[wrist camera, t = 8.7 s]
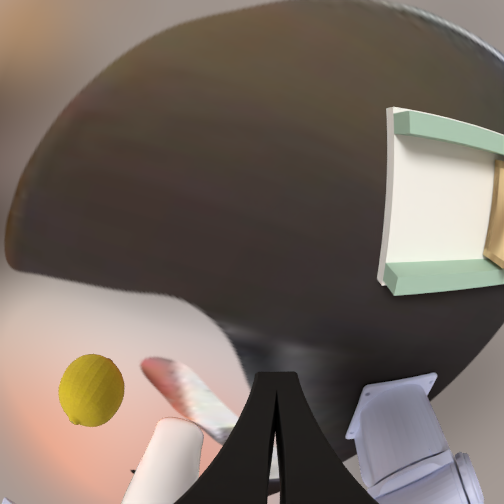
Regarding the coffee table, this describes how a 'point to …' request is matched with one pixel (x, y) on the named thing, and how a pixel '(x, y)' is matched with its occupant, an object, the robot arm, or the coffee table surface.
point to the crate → (496, 219)
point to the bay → (437, 204)
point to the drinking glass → (167, 464)
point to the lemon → (91, 390)
